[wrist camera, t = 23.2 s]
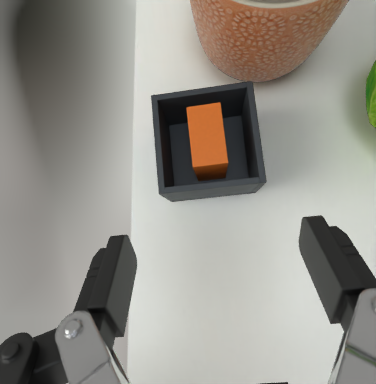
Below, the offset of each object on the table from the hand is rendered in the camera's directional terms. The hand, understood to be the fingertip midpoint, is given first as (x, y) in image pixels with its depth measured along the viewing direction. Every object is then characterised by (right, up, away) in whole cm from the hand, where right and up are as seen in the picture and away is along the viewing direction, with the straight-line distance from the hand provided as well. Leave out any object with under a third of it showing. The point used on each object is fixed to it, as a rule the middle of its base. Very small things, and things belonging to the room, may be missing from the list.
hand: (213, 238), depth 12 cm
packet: (+2, +8, +31) cm, 32 cm away
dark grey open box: (+2, +8, +32) cm, 33 cm away
